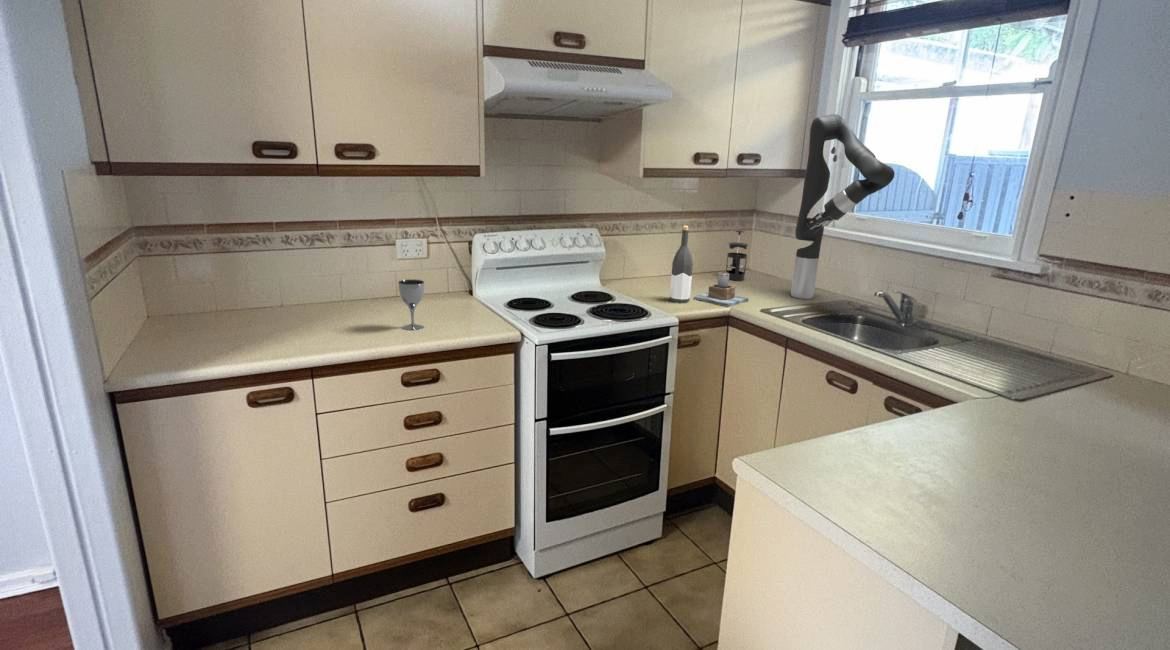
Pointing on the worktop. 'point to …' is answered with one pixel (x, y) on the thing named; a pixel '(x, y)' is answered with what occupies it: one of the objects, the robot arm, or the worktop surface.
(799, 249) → the robot arm
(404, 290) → the wine glass
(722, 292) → the socket
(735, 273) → the french press
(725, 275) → the grey cylinder
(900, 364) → the worktop surface
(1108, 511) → the worktop surface
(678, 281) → the wine bottle
